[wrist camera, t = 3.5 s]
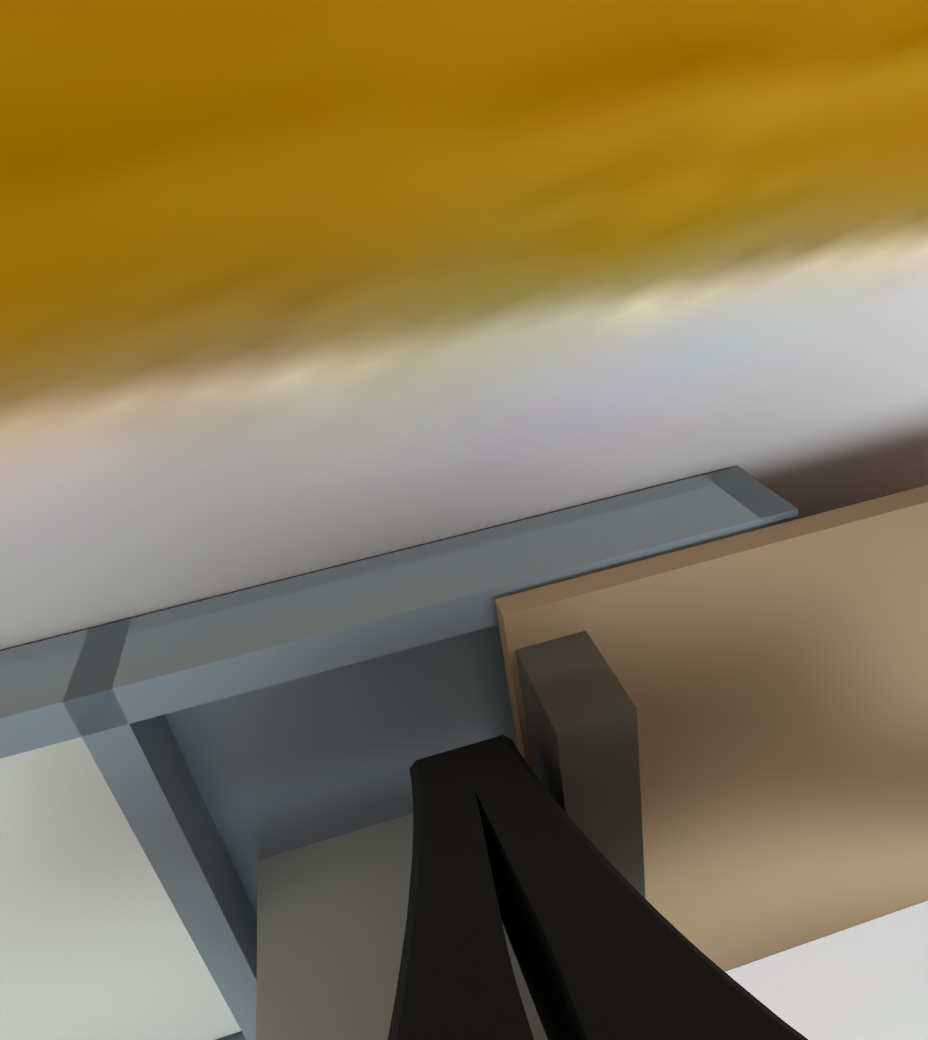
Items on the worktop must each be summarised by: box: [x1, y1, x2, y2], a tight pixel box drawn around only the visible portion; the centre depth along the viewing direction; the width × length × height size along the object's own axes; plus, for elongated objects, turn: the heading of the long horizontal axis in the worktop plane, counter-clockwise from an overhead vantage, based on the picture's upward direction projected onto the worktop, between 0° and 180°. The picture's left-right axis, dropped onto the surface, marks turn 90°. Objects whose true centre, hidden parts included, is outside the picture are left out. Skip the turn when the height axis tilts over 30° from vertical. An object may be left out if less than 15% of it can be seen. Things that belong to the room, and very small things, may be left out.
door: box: [495, 485, 928, 972], centre depth 12 cm, size 10×9×2 cm
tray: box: [0, 466, 799, 1040], centre depth 13 cm, size 10×19×2 cm, turn 99°
